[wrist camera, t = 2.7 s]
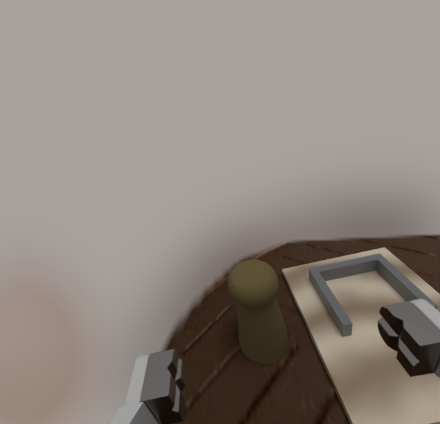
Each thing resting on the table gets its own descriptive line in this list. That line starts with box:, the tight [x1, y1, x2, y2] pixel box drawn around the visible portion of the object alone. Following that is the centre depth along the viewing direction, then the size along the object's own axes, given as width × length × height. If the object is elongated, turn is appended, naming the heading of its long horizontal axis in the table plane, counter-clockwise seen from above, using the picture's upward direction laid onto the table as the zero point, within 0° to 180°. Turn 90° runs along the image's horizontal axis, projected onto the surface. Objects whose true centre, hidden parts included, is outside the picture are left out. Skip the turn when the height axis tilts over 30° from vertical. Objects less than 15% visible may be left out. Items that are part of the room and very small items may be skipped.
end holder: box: [309, 253, 438, 337], centre depth 29 cm, size 9×10×2 cm
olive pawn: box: [228, 260, 289, 364], centre depth 26 cm, size 6×6×11 cm
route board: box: [282, 247, 440, 424], centre depth 28 cm, size 20×16×1 cm
